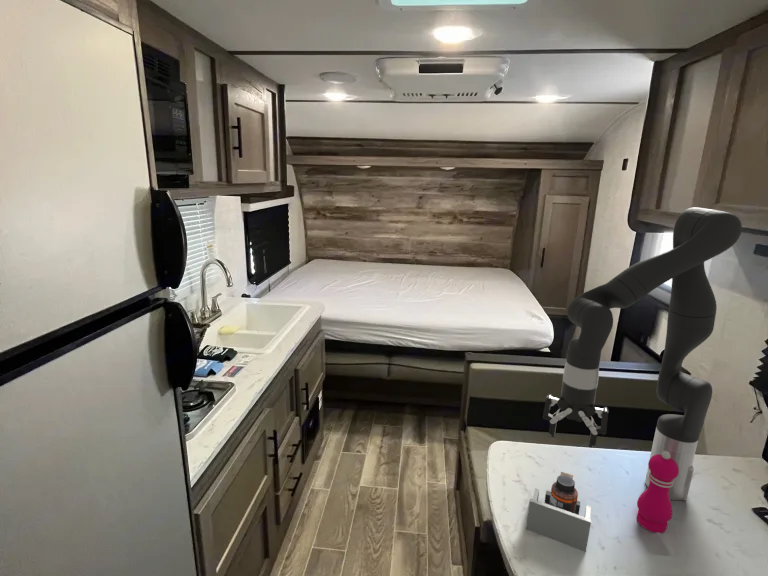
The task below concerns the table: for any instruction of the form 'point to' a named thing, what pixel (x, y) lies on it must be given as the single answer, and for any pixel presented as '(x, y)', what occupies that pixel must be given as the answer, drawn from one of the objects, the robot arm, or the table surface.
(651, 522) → the pepper mill
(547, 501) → the scraper
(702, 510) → the table surface
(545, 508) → the grey u-shaped bracket
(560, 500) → the supplement bottle
